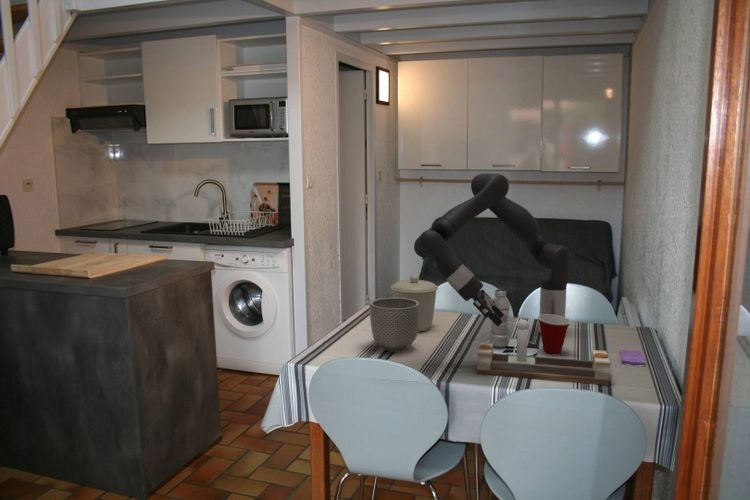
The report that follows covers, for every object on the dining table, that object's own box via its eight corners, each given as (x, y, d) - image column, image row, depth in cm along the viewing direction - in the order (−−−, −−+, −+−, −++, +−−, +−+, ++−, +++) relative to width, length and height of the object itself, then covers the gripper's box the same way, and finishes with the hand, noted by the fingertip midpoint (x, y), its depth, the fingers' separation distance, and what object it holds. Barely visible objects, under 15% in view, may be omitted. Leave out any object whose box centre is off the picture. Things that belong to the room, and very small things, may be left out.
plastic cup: (564, 359, 200) (566, 323, 198) (532, 354, 206) (533, 319, 204) (573, 350, 209) (575, 316, 208) (542, 345, 215) (543, 312, 213)
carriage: (508, 361, 194) (509, 316, 192) (534, 363, 192) (536, 317, 190) (507, 367, 188) (509, 321, 186) (534, 370, 186) (536, 323, 184)
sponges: (621, 365, 196) (621, 359, 196) (620, 353, 208) (620, 348, 207) (645, 368, 194) (645, 362, 193) (642, 356, 205) (642, 350, 205)
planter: (382, 338, 225) (382, 295, 222) (427, 344, 217) (427, 300, 215) (361, 351, 209) (360, 305, 207) (407, 358, 202) (408, 311, 199)
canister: (445, 326, 239) (446, 273, 236) (423, 338, 224) (424, 281, 221) (405, 320, 249) (405, 268, 246) (381, 330, 234) (381, 276, 231)
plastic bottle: (509, 350, 210) (510, 292, 207) (489, 348, 212) (490, 292, 209) (508, 344, 217) (510, 288, 213) (489, 343, 218) (490, 288, 215)
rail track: (480, 361, 199) (480, 340, 198) (604, 371, 190) (606, 349, 189) (476, 373, 188) (477, 351, 187) (609, 385, 178) (610, 361, 177)
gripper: (471, 278, 182) (509, 318, 181) (475, 270, 196) (511, 307, 195) (452, 295, 185) (490, 334, 183) (458, 285, 198) (493, 322, 197)
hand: (501, 320), depth 189 cm, fingers open, 8 cm apart
